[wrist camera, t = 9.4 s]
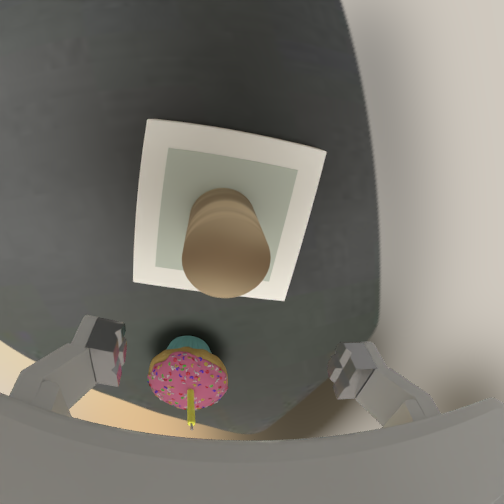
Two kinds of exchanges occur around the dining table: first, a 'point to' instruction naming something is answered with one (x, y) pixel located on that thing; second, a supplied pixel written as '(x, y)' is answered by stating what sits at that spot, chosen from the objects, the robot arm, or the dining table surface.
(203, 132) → the base slab
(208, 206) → the bread loaf
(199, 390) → the cupcake
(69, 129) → the dining table surface
